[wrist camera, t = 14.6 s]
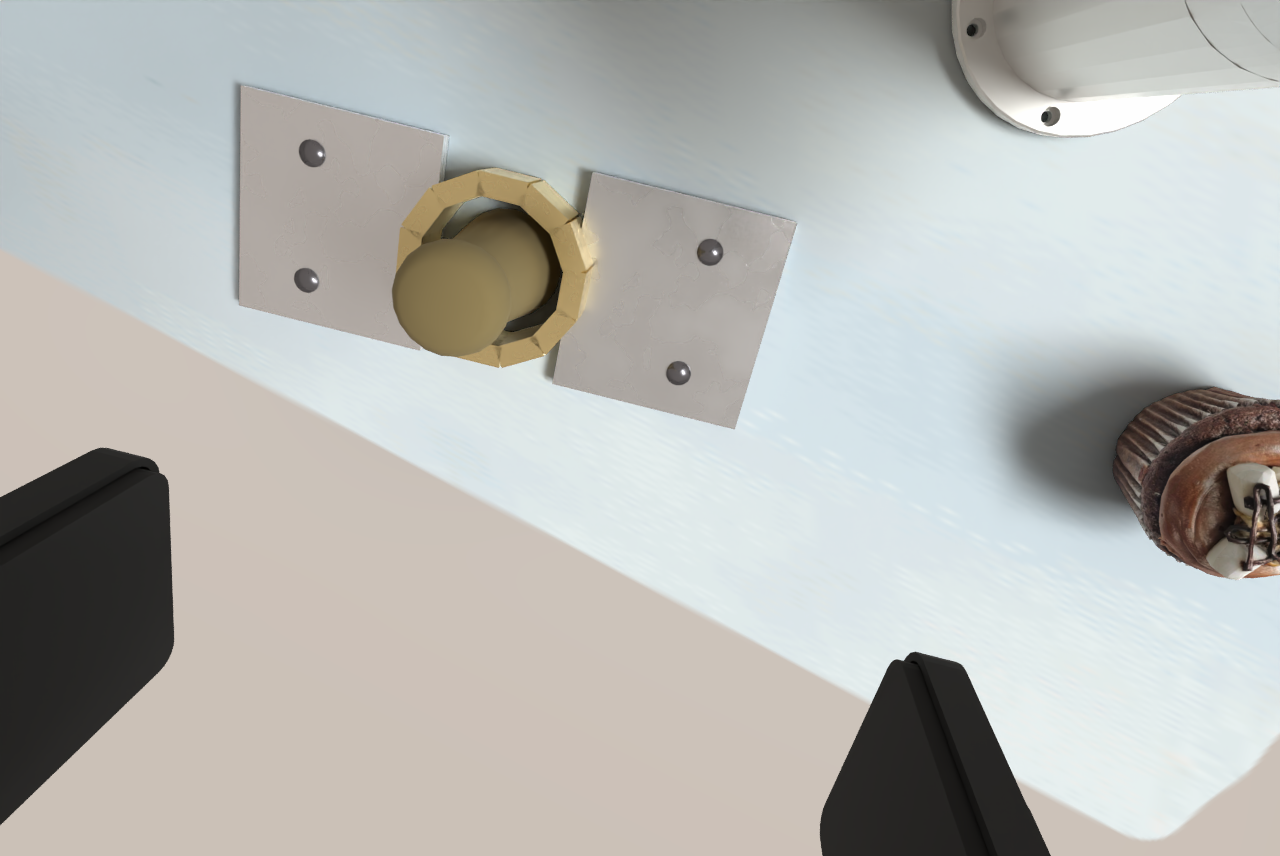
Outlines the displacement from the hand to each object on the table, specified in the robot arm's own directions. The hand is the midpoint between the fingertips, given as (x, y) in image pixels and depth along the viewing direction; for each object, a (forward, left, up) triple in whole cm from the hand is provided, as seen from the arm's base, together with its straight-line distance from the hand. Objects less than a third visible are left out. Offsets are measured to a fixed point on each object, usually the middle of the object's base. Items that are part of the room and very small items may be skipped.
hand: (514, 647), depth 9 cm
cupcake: (+4, +31, -34) cm, 46 cm away
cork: (+3, -9, -34) cm, 35 cm away
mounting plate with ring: (+3, -9, -33) cm, 35 cm away
